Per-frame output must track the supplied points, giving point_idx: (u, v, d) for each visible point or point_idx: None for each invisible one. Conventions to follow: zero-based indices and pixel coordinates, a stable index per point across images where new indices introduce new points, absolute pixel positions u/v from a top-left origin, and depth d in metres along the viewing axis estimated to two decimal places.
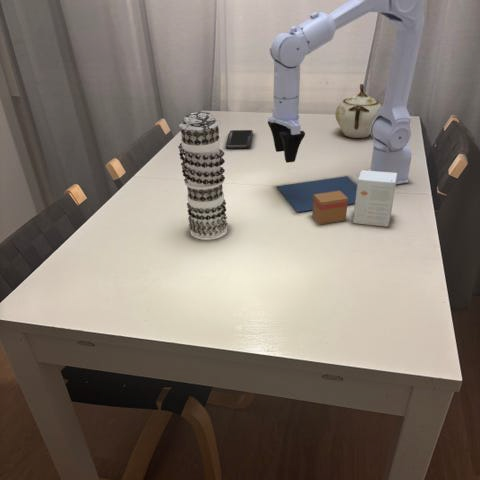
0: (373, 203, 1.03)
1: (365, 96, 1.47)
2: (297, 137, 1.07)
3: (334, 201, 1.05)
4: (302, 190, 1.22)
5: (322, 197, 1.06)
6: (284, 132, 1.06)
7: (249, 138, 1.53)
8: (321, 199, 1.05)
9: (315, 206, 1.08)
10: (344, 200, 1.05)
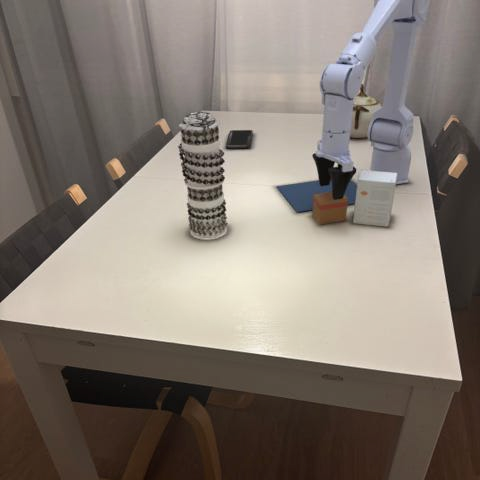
0: (373, 203, 1.03)
1: (365, 96, 1.47)
2: (348, 173, 0.99)
3: (334, 201, 1.05)
4: (302, 190, 1.22)
5: (322, 197, 1.06)
6: (334, 168, 0.98)
7: (249, 138, 1.53)
8: (321, 199, 1.05)
9: (315, 206, 1.08)
10: (344, 200, 1.05)
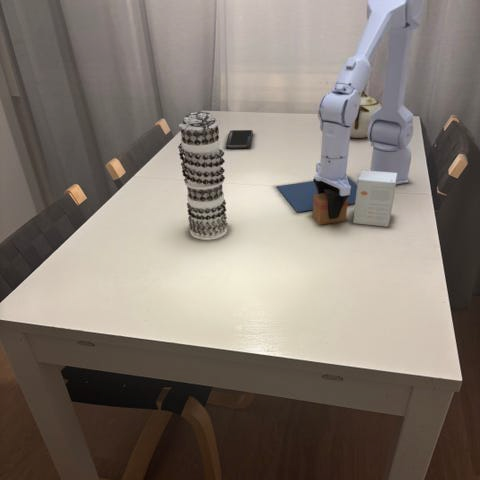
0: (373, 203, 1.03)
1: (365, 96, 1.47)
2: None
3: None
4: (302, 190, 1.22)
5: (322, 197, 1.06)
6: (330, 190, 1.02)
7: (249, 138, 1.53)
8: (321, 199, 1.05)
9: (315, 206, 1.08)
10: None
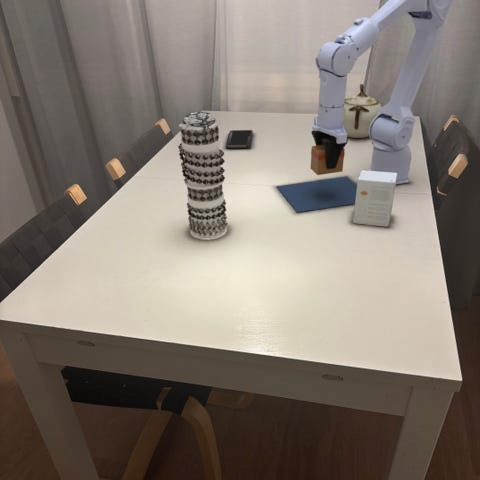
0: (373, 203, 1.03)
1: (365, 96, 1.47)
2: (339, 144, 1.08)
3: None
4: (302, 190, 1.22)
5: (320, 148, 1.11)
6: (327, 139, 1.07)
7: (249, 138, 1.53)
8: (319, 150, 1.10)
9: (313, 157, 1.13)
10: None
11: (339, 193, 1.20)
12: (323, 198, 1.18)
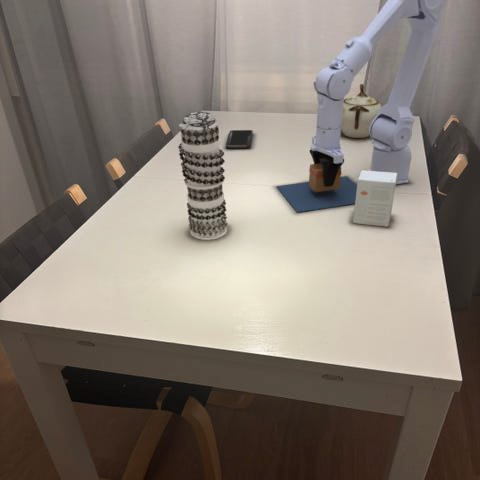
0: (373, 204, 1.03)
1: (365, 96, 1.47)
2: (336, 163, 1.12)
3: None
4: (302, 190, 1.22)
5: (318, 166, 1.16)
6: (324, 159, 1.11)
7: (249, 138, 1.53)
8: (317, 168, 1.15)
9: (311, 175, 1.17)
10: None
11: (339, 193, 1.20)
12: (323, 198, 1.18)
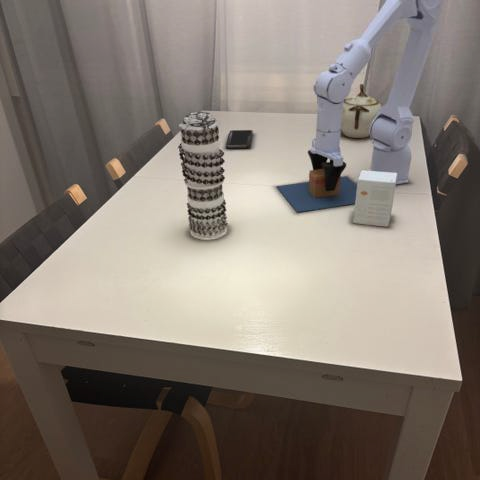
0: (373, 203, 1.03)
1: (365, 96, 1.47)
2: (338, 168, 1.12)
3: None
4: (302, 190, 1.22)
5: (317, 172, 1.17)
6: (326, 163, 1.11)
7: (249, 138, 1.53)
8: (316, 174, 1.16)
9: (311, 181, 1.18)
10: None
11: (339, 193, 1.20)
12: (323, 198, 1.18)
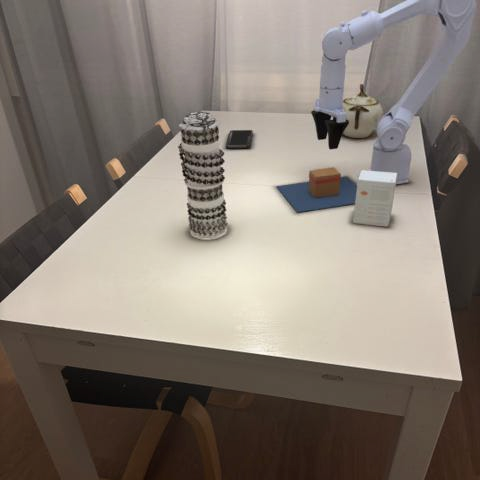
0: (373, 203, 1.03)
1: (365, 96, 1.47)
2: (341, 125, 1.15)
3: (328, 176, 1.15)
4: (302, 190, 1.22)
5: (317, 172, 1.17)
6: (330, 120, 1.14)
7: (249, 138, 1.53)
8: (316, 174, 1.16)
9: (311, 181, 1.18)
10: (337, 175, 1.16)
11: (339, 193, 1.20)
12: (323, 198, 1.18)
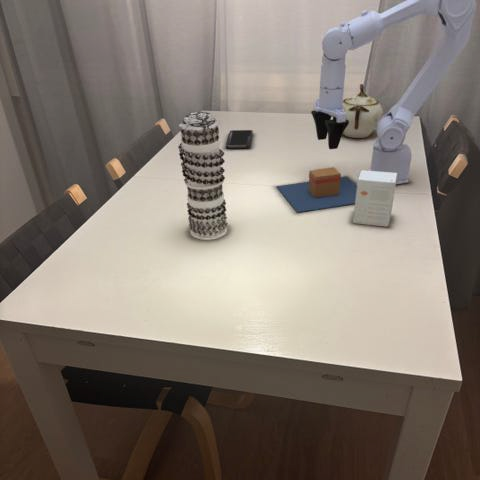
0: (373, 203, 1.03)
1: (365, 96, 1.47)
2: (341, 125, 1.15)
3: (328, 176, 1.15)
4: (302, 190, 1.22)
5: (317, 172, 1.17)
6: (329, 120, 1.14)
7: (249, 138, 1.53)
8: (316, 174, 1.16)
9: (311, 181, 1.18)
10: (337, 175, 1.16)
11: (339, 193, 1.20)
12: (323, 198, 1.18)
